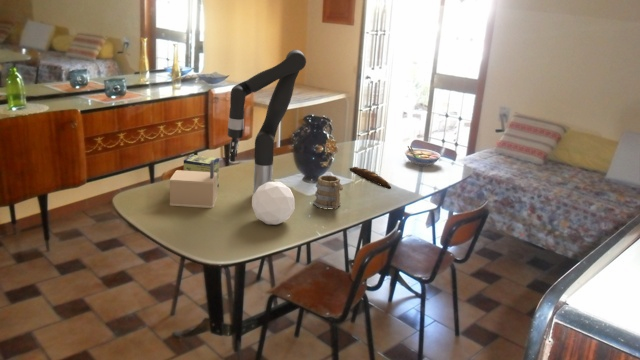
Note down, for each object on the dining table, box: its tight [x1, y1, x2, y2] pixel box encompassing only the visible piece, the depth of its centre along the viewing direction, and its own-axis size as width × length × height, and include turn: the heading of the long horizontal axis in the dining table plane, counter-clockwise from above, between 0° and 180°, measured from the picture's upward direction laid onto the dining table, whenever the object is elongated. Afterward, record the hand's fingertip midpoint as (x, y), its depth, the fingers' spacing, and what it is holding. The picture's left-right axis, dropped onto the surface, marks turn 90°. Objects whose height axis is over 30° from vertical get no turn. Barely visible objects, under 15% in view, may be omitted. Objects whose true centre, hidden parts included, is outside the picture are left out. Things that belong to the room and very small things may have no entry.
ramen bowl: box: [404, 145, 441, 167], centre depth 356 cm, size 25×23×8 cm
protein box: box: [183, 154, 220, 188], centre depth 286 cm, size 10×16×16 cm
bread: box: [349, 166, 392, 189], centre depth 322 cm, size 38×5×5 cm, turn 35°
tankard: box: [312, 174, 344, 209], centre depth 273 cm, size 20×13×15 cm, turn 23°
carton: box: [169, 176, 218, 209], centre depth 268 cm, size 20×14×12 cm
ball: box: [251, 181, 296, 226], centre depth 250 cm, size 19×20×20 cm
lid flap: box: [169, 160, 218, 184], centre depth 265 cm, size 20×14×9 cm
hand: (233, 158), depth 276 cm, fingers open, 8 cm apart
